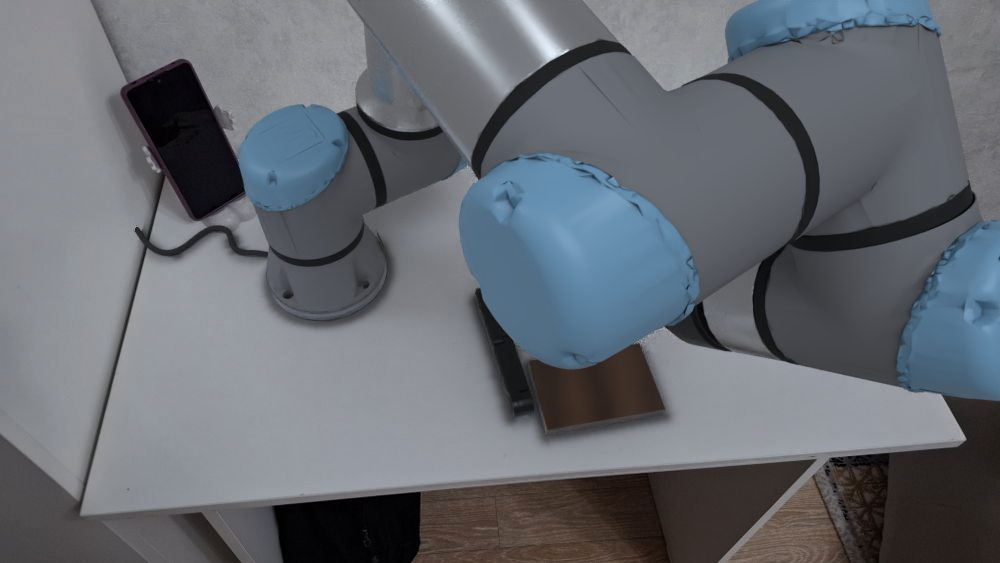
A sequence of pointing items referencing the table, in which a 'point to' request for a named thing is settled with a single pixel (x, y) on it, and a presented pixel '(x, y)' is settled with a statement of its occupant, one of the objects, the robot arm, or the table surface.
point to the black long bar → (506, 362)
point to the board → (596, 392)
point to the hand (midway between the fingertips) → (556, 278)
